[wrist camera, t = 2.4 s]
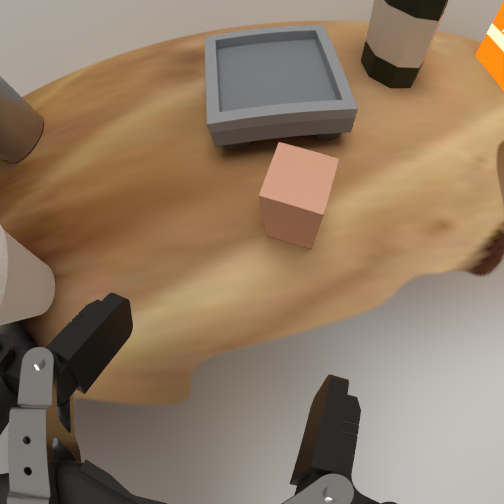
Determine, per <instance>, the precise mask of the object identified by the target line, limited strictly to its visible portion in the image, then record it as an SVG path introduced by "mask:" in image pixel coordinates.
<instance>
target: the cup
mask: <svg viewBox="0 0 504 504" xmlns="http://www.w3.org/2000/svg"><path fill="white" fill-rule="evenodd" d="M54 295H55V279H54V275H53V272H52V270H51V269H50V267H49V266H48V265H47V264H45V263H44V262H43V261H41V260H40V259H39V258H37V257H36V256H35V255H34V254H32V253H31V252H30V251H29V250H27V249H26V248H25V247H24V246H22V245H21V244H20V243H19V242H17V241H16V240H15V239H14V238H13V237H11V236H10V235H9V234H8V233H7V232H5V231H4V230H3V228H2V227H1V225H0V325H4V324H8V323H11V322H15V321H19V320H23V319H27V318H31V317H34V316H38V315H41V314H43V313H45V312H46V311H47V310H48V309H49V307H50V306H51V304H52V302H53V299H54Z"/></svg>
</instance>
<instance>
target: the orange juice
mask: <svg viewBox="0 0 504 504" xmlns="http://www.w3.org/2000/svg"><path fill="white" fill-rule="evenodd" d="M475 56H476V57H477V58H478V59H479V61H480V62H481V63H482V64H483V65H484V67H485V68H486V69H487V70H488V72H489V73H490V74H491V75H492V77H493V78H494V79H495V80H496V82H497V83H498V84H499V86H500V87H501V88H502V90H503V91H504V1H503V3H502V5H501V8H500V10H499V12H498V13H497V15H496V17H495V19H494V21H493V23H492V24H491V26H490V28H489V30H488V32H487V35H486V37H485V38H484V40H483V42H482V44H481V46H480V47H479V49H478V51H477V53H476V55H475Z"/></svg>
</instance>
